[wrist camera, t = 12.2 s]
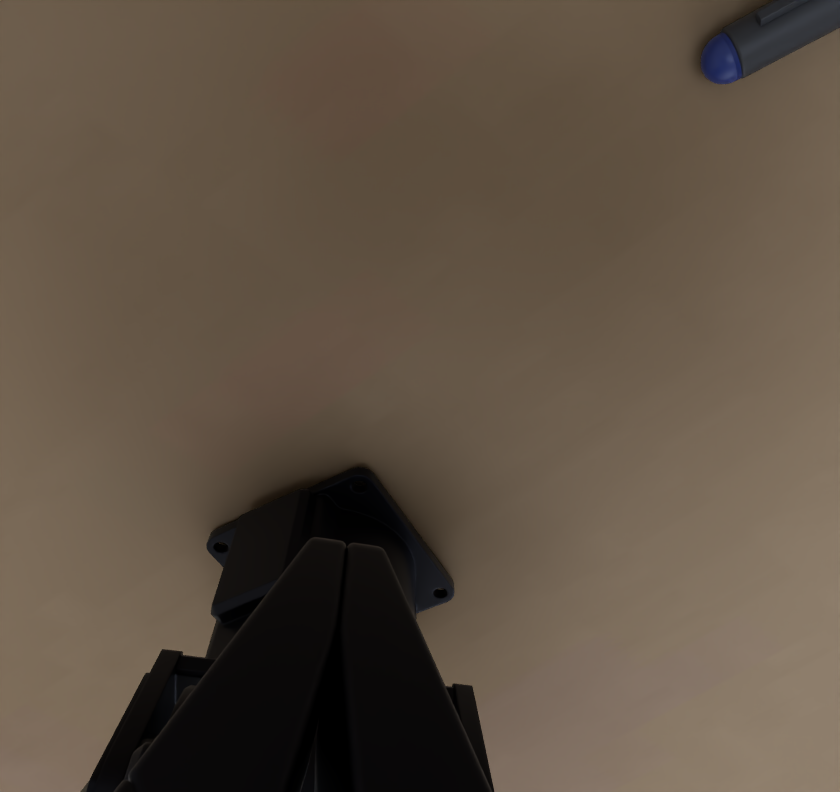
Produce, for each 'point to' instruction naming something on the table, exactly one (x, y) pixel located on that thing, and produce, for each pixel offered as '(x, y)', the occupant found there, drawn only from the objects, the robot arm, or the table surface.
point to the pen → (767, 37)
